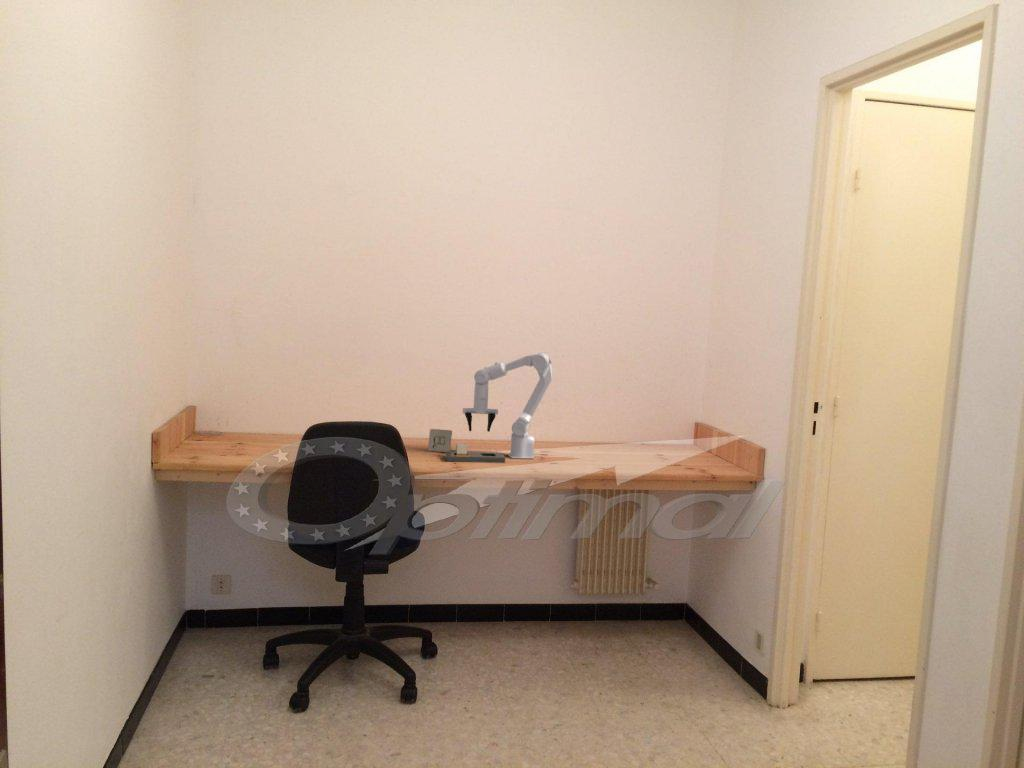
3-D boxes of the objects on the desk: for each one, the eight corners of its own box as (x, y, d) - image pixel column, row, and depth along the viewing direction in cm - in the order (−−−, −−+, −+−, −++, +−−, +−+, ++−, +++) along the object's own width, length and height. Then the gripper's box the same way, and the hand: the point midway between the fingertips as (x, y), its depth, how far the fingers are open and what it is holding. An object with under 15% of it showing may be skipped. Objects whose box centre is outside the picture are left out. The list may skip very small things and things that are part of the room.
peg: (465, 458, 317) (465, 443, 316) (466, 460, 313) (467, 445, 312) (455, 458, 316) (456, 443, 315) (456, 460, 312) (457, 445, 311)
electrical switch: (427, 451, 326) (429, 429, 326) (429, 450, 331) (431, 428, 331) (449, 453, 325) (451, 430, 325) (451, 452, 331) (453, 429, 330)
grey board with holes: (500, 457, 322) (501, 452, 322) (504, 462, 313) (505, 457, 312) (444, 456, 318) (444, 450, 318) (447, 461, 308) (447, 456, 308)
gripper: (496, 397, 331) (494, 429, 332) (462, 396, 328) (460, 428, 330) (499, 400, 324) (497, 432, 326) (464, 398, 321) (462, 431, 323)
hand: (479, 431), depth 327 cm, fingers open, 7 cm apart
